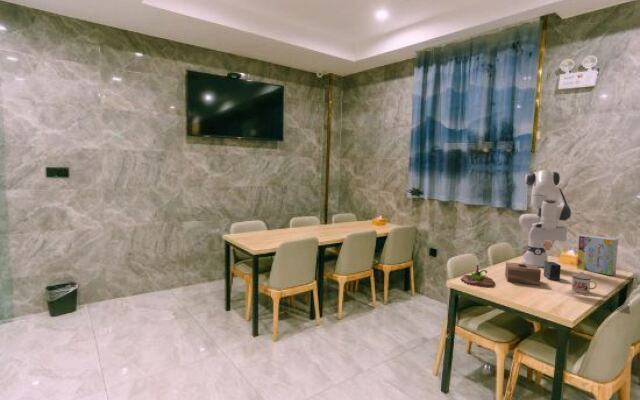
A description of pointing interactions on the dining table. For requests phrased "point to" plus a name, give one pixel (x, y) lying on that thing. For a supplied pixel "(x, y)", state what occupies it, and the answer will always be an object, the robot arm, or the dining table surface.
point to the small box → (552, 270)
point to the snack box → (597, 254)
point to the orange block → (547, 245)
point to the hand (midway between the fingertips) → (546, 246)
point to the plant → (478, 279)
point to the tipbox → (523, 273)
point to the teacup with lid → (581, 283)
